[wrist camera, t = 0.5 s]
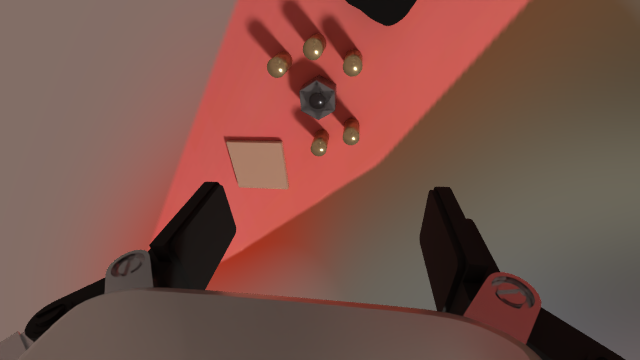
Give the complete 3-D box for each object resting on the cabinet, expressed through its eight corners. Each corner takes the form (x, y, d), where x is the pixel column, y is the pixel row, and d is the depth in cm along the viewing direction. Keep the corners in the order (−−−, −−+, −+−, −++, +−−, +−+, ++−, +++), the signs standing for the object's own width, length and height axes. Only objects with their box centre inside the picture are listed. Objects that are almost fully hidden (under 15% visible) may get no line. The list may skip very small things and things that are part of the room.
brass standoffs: (272, 35, 36) (262, 40, 32) (363, 31, 34) (363, 36, 31) (287, 142, 46) (280, 155, 42) (358, 143, 44) (358, 157, 40)
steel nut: (302, 74, 39) (298, 80, 36) (336, 74, 38) (334, 80, 36) (305, 112, 42) (302, 120, 40) (336, 112, 41) (335, 120, 39)
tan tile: (228, 140, 47) (226, 142, 46) (282, 141, 46) (281, 143, 45) (240, 184, 53) (239, 187, 52) (289, 186, 51) (288, 189, 51)
